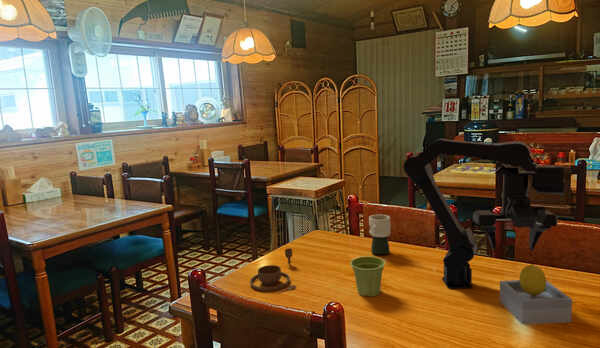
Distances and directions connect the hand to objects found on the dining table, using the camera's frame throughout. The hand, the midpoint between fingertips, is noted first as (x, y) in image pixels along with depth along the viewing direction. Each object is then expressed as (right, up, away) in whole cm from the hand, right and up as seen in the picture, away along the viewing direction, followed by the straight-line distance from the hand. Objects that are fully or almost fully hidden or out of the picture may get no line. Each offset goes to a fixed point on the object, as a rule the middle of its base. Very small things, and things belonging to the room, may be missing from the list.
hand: (512, 249), depth 106 cm
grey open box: (+1, -14, -8) cm, 16 cm away
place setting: (-61, -13, +19) cm, 66 cm away
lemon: (0, -10, -9) cm, 13 cm away
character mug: (-27, -8, +36) cm, 46 cm away
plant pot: (-36, -13, +7) cm, 39 cm away
